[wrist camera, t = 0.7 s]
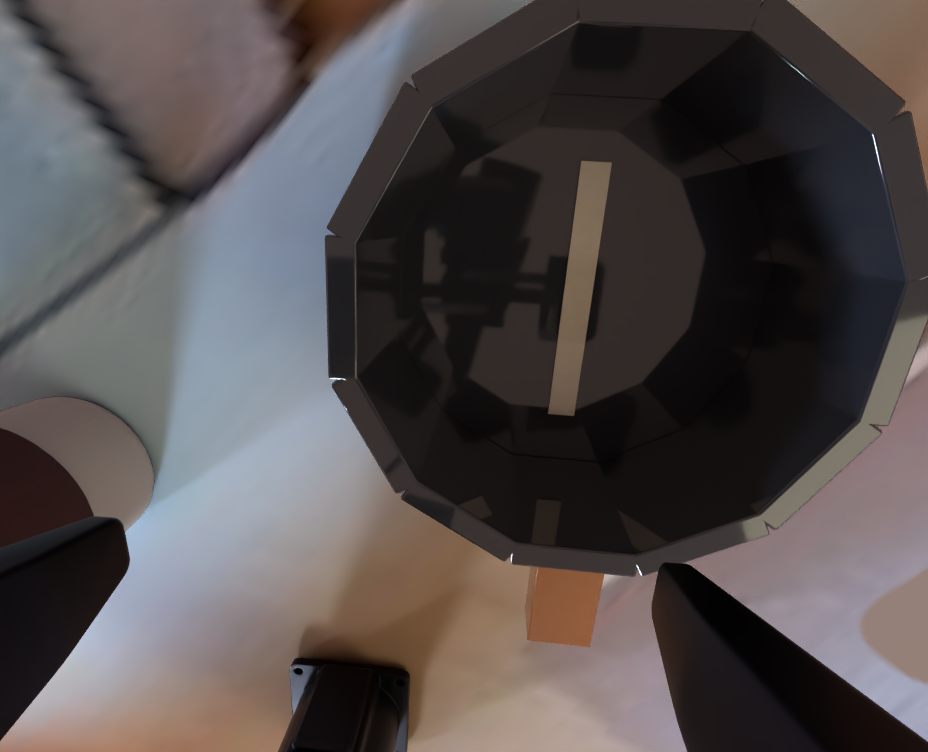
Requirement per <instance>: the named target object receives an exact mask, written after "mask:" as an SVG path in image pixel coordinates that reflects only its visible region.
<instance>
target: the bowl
mask: <svg viewBox="0 0 928 752" xmlns="http://www.w3.org/2000/svg"><path fill="white" fill-rule="evenodd" d="M412 80H413V82H414V85H415V87H416V88H414V87H413V86H411V85H410V84H409V83H407V82H405V83H404V84H403V86H402V88H401V90H400V91H399V93H398V95H397V97H396V99H395V101H394V103H393V105H392V106H391V108H390V110H389V112H388V114H387V116H386V118H385V119H384V121H383V123H382V125H381V127H380V129H379V131H378V132H377V134H376V136H375V138H374V140H373V142H372V144H371V145H370V147H369V149H368V151H367V153H366V155H365V157H364V159H363V160H362V162H361V164H360V166H359V168H358V170H357V172H356V173H355V175H354V177H353V179H352V181H351V183H350V185H349V186H348V188H347V190H346V192H345V194H344V196H343V198H342V199H341V201H340V203H339V205H338V207H337V209H336V211H335V213H334V214H333V216H332V218H331V220H330V222H329V224H328V226H327V229H328V230H329V231H331V232H332V233H334V234H333V235H326V236H325V261H326V299H327V336H328V374H329V378H330V379H336V380H335V381H334V382H333V383H332V388H333V389H334V391H335V393H336V394H337V396H338V398H339V399H340V401H341V403H342V404H343V406H344V408H345V409H346V411H347V413H348V414H349V416H350V418H351V419H352V421H353V423H354V424H355V426H356V428H357V430H358V431H359V433H360V435H361V436H362V438H363V440H364V441H365V443H366V445H367V446H368V448H369V450H370V451H371V453H372V455H373V456H374V458H375V460H376V461H377V463H378V465H379V466H380V468H381V470H382V471H383V473H384V475H385V476H386V478H387V480H388V481H389V483H390V485H391V487H392V488H393V490H394V492H395V493H400V492H402V491H403V492H402V495H401V499H402V500H403V501H405V502H407V503H408V504H410V505H412V506H413V507H415V508H417V509H418V510H420V511H421V512H423V513H425V514H426V515H428V516H430V517H431V518H433V519H435V520H436V521H438V522H439V523H441V524H443V525H444V526H446V527H448V528H449V529H451V530H453V531H454V532H456V533H457V534H459V535H461V536H462V537H464V538H466V539H467V540H469V541H471V542H472V543H474V544H475V545H477V546H479V547H480V548H482V549H484V550H485V551H487V552H489V553H490V554H492V555H494V556H495V557H497V558H498V559H500V560H502V561H506V560H507V559H508V558H509V557H510V563H511V564H513V565H522V566H531V567H530V575H529V582H528V590H527V597H526V605H525V612H526V627H527V639H528V640H529V641H537V642H547V643H556V644H565V645H574V646H583V647H590V644H591V639H592V634H593V629H594V624H595V619H596V613H597V608H598V603H599V598H600V593H601V587H602V582H603V577H604V574H610V575H620V576H630V577H635V575H636V571H637V569H638V571H639V573H640V575H641V576H645V575H648V574H651V573H654V572H657V571H659V568H660V566H661V565H662V564H663V563H665V562H669V563H681V564H682V563H685V562H688V561H691V560H694V559H697V558H700V557H703V556H706V555H709V554H712V553H715V552H718V551H721V550H725V549H728V548H731V547H734V546H737V545H740V544H743V543H746V542H749V541H752V540H755V539H758V538H761V537H764V536H767V535H769V530H768V528H767V526H768V527H770V528H771V529H774V530H777V529H778V528H779V527H780V526H781V525H783V524H784V523H785V522H786V521H787V520H788V519H789V518H790V517H791V516H792V515H794V514H795V513H796V512H797V511H798V510H799V509H800V508H801V507H802V506H803V505H805V504H806V503H807V502H808V501H809V500H810V499H811V498H812V497H813V496H814V495H815V494H817V493H818V492H819V491H820V490H821V489H822V488H823V487H824V486H825V485H826V484H828V483H829V482H830V481H831V480H832V479H833V478H834V477H835V476H836V475H837V474H839V473H840V472H841V471H842V470H843V469H844V468H845V467H846V466H847V465H848V464H849V463H851V462H852V461H853V460H854V459H855V458H856V457H857V456H858V455H859V454H860V453H862V452H863V451H864V450H865V449H866V448H867V447H868V446H869V445H870V444H871V443H873V442H874V441H875V440H876V439H877V438H878V437H879V436H880V435H881V434H882V431H881V429H879V428H878V427H877V426H888V425H889V423H890V420H891V418H892V415H893V412H894V410H895V407H896V404H897V402H898V399H899V396H900V394H901V391H902V389H903V386H904V383H905V381H906V378H907V375H908V373H909V370H910V367H911V365H912V362H913V360H914V357H915V354H916V352H917V349H918V346H919V344H920V341H921V338H922V336H923V333H924V330H925V328H926V325H927V323H928V190H927V186H926V181H925V176H924V171H923V166H922V161H921V157H920V152H919V147H918V142H917V137H916V132H915V127H914V123H913V118H912V113H911V112H910V111H904V112H900V113H898V112H899V111H900V110H901V109H902V107H903V106H904V105H905V103H906V102H905V100H903V99H902V98H901V97H900V96H899V95H898V94H896V93H895V92H894V91H893V90H892V89H891V88H889V87H888V86H887V85H886V84H885V83H884V82H882V81H881V80H880V79H879V78H878V77H876V76H875V75H874V74H873V73H872V72H871V71H869V70H868V69H867V68H866V67H865V66H864V65H862V64H861V63H860V62H859V61H858V60H856V59H855V58H854V57H853V56H852V55H851V54H849V53H848V52H847V51H846V50H845V49H844V48H842V47H841V46H840V45H839V44H838V43H837V42H835V41H834V40H833V39H832V38H831V37H829V36H828V35H827V34H826V33H825V32H824V31H822V30H821V29H820V28H819V27H818V26H817V25H815V24H814V23H813V22H812V21H811V20H809V19H808V18H807V17H806V16H805V15H804V14H802V13H801V12H800V11H799V10H798V9H797V8H795V7H794V6H793V5H792V4H791V3H790V2H788V1H787V0H535V1H533V2H531V3H530V4H528V5H526V6H525V7H523V8H521V9H520V10H518V11H516V12H515V13H513V14H511V15H510V16H508V17H506V18H505V19H503V20H501V21H500V22H498V23H497V24H495V25H493V26H492V27H490V28H488V29H487V30H485V31H483V32H482V33H480V34H478V35H477V36H475V37H473V38H472V39H470V40H468V41H467V42H465V43H463V44H462V45H460V46H458V47H457V48H455V49H453V50H452V51H450V52H449V53H447V54H445V55H444V56H442V57H440V58H439V59H437V60H435V61H434V62H432V63H430V64H429V65H427V66H425V67H424V68H422V69H420V70H419V71H417V72H415V73H414V74H413V75H412ZM875 425H877V426H875Z"/></svg>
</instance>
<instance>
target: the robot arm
mask: <svg viewBox="0 0 928 752" xmlns="http://www.w3.org/2000/svg"><path fill="white" fill-rule="evenodd" d="M129 563H130V556H129V551H128V546H127V540H126V535H125V530H124V526H123V523H122V522H121V521H120V520H119V519H117V518H113V517H101V516H93V517H89V518H86V519H83V520H80V521H77V522H74V523H71V524H68V525H65V526H63V527H60V528H57V529H54V530H51V531H48V532H45V533H42V534H39V535H36V536H33V537H31V538H28V539H25V540H22V541H19V542H16V543H13V544H10V545H7V546H4V547H2V548H0V741H1V739H2V738H3V737H4V736H5V734H6V733H7V732H8V731H9V730H10V728H11V727H12V726H13V725H14V723H15V722H16V721H17V720H18V719H19V717H20V716H21V715H22V714H23V712H24V711H25V710H26V709H27V708H28V706H29V705H30V704H31V703H32V701H33V700H34V699H35V698H36V696H37V695H38V694H39V693H40V692H41V690H42V689H43V688H44V687H45V685H46V684H47V683H48V682H49V681H50V679H51V678H52V677H53V676H54V674H55V673H56V672H57V670H58V669H59V668H60V667H61V665H62V664H63V663H64V661H65V660H66V659H67V657H68V656H69V655H70V653H71V652H72V650H73V649H74V648H75V646H76V645H77V643H78V642H79V640H80V639H81V638H82V636H83V635H84V633H85V632H86V630H87V629H88V628H89V626H90V625H91V623H92V622H93V620H94V619H95V617H96V616H97V615H98V613H99V612H100V610H101V609H102V607H103V606H104V604H105V603H106V602H107V600H108V599H109V597H110V596H111V594H112V593H113V592H114V590H115V589H116V587H117V586H118V584H119V583H120V581H121V580H122V579H123V577H124V576H125V574H126V572H127V570H128V567H129ZM652 619H653V623H654V628H655V632H656V636H657V640H658V644H659V648H660V653H661V657H662V661H663V665H664V669H665V673H666V678H667V682H668V686H669V690H670V694H671V698H672V703H673V707H674V710H675V714H676V718H677V722H678V725H679V728H680V731H681V734H682V737H683V740H684V743H685V746H686V749H687V752H928V742H927V741H926V740H924V739H923V738H922V737H920V736H919V735H918V734H916V733H915V732H914V731H912V730H911V729H910V728H908V727H907V726H906V725H904V724H903V723H902V722H900V721H899V720H898V719H896V718H895V717H894V716H892V715H891V714H889V713H888V712H887V711H885V710H884V709H883V708H881V707H880V706H879V705H877V704H876V703H875V702H873V701H872V700H871V699H869V698H868V697H867V696H865V695H864V694H863V693H861V692H860V691H859V690H857V689H856V688H855V687H853V686H852V685H851V684H849V683H848V682H846V681H845V680H844V679H842V678H841V677H840V676H838V675H837V674H836V673H834V672H833V671H832V670H830V669H829V668H828V667H826V666H825V665H824V664H822V663H821V662H820V661H818V660H817V659H816V658H814V657H813V656H812V655H810V654H809V653H807V652H806V651H805V650H803V649H802V648H801V647H799V646H798V645H797V644H795V643H794V642H793V641H791V640H790V639H789V638H787V637H786V636H785V635H783V634H782V633H781V632H779V631H778V630H777V629H775V628H774V627H773V626H771V625H770V624H768V623H767V622H766V621H764V620H763V619H762V618H760V617H759V616H758V615H756V614H755V613H754V612H752V611H751V610H750V609H748V608H747V607H746V606H744V605H743V604H742V603H740V602H739V601H738V600H736V599H735V598H734V597H732V596H731V595H730V594H728V593H727V592H725V591H724V590H723V589H721V588H720V587H719V586H717V585H716V584H715V583H713V582H712V581H711V580H709V579H708V578H707V577H705V576H704V575H703V574H701V573H700V572H699V571H697V570H696V569H695V568H693V567H692V566H690V565H688V564H681V563H669V562H665V563H663V564H662V565H661V566H660V568H659V571H658V576H657V581H656V586H655V591H654V596H653V601H652ZM290 683H291V698H292V713H293V717H292V719H291V722H290V724H289V727H288V729H287V731H286V734H285V736H284V739H283V741H282V743H281V746H280V748H279V751H278V752H407V744H408V718H409V693H410V674H409V673H408V672H407V671H405V670H403V669H396V668H387V667H378V666H369V665H360V664H352V663H343V662H334V661H325V660H317V659H308V658H296V659H295V660H294V661H293V663H292V665H291V667H290Z"/></svg>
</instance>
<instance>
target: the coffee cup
mask: <svg viewBox="0 0 928 752" xmlns="http://www.w3.org/2000/svg"><path fill="white" fill-rule="evenodd" d="M153 489H154V472H153V467H152V464H151V461H150V458H149V456H148V453H147V451H146V449H145V447H144V446H143V444H142V442H141V441H140V439H139V438H138V437H137V436H136V434H135V433H134V432H133V431H132V429H131V428H130V427H129V426H127V425H126V424H125V423H124V422H123V421H122V420H121V419H119V418H118V417H117V416H115V415H114V414H112V413H111V412H109V411H107V410H106V409H104V408H102V407H100V406H98V405H96V404H93V403H91V402H88V401H84V400H81V399H76V398H70V397H50V398H42V399H38V400H34V401H31V402H27V403H24V404H21V405H18V406H15V407H11V408H8V409H5V410H2V411H0V548H2V547H4V546H7V545H10V544H13V543H16V542H19V541H22V540H25V539H28V538H31V537H33V536H36V535H39V534H42V533H45V532H48V531H51V530H54V529H57V528H60V527H63V526H65V525H68V524H71V523H74V522H77V521H80V520H83V519H86V518H89V517H93V516H101V517H113V518H117V519H119V520H120V521H121V522H122V523H123V526H124V530H125V531H127V530H128V529H129V528H130V527H131V526H132V525H133V524H134V523H135V522H136V521H137V520H138V519H139V518H140V517H141V516H142V514H143V513H144V511H145V510H146V508H147V507H148V505H149V503H150V501H151V498H152V494H153Z"/></svg>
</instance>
